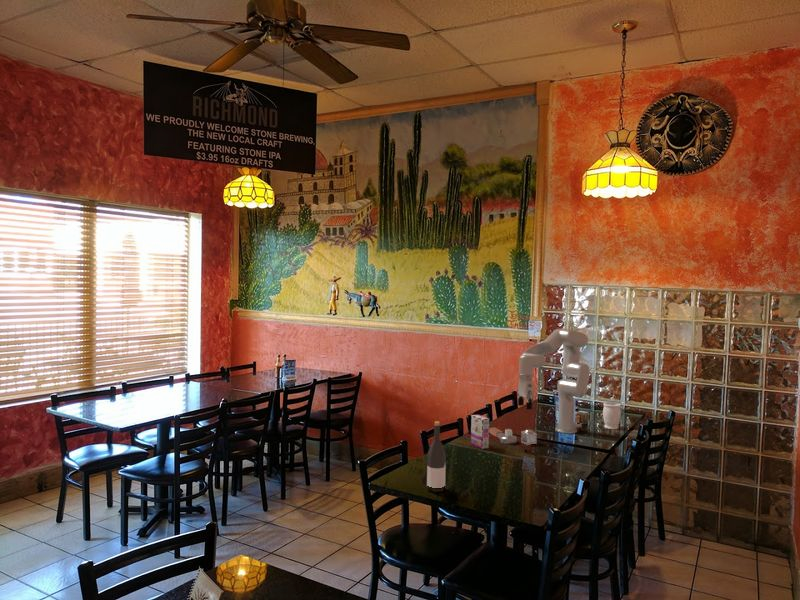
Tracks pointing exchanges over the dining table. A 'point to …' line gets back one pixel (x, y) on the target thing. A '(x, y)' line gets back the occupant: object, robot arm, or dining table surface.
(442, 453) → the wine bottle
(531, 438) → the socket
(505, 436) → the small pan
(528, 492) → the dining table surface
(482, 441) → the candy bar box
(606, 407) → the jar
